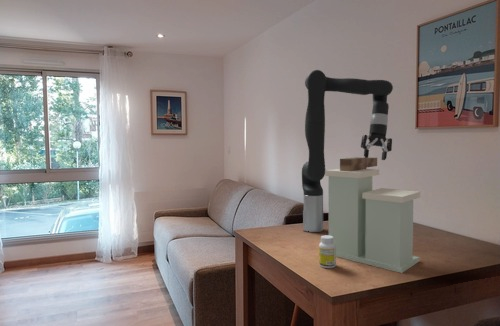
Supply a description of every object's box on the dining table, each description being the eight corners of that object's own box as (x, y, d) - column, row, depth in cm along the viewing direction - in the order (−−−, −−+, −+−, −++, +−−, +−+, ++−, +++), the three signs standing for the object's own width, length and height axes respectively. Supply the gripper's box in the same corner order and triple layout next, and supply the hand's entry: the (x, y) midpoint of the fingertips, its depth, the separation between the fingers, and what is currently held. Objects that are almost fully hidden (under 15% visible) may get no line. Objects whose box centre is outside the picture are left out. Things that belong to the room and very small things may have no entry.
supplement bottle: (323, 261, 129) (323, 233, 128) (338, 265, 125) (338, 236, 124) (316, 266, 124) (316, 237, 124) (331, 269, 121) (331, 239, 120)
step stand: (401, 273, 117) (403, 175, 115) (325, 253, 137) (325, 170, 135) (419, 261, 127) (420, 171, 125) (346, 245, 148) (346, 167, 146)
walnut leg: (350, 171, 130) (350, 159, 130) (339, 170, 133) (339, 158, 133) (378, 167, 146) (378, 156, 145) (368, 166, 149) (368, 156, 149)
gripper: (368, 121, 163) (364, 157, 162) (397, 125, 165) (393, 160, 165) (360, 123, 170) (356, 157, 170) (388, 127, 172) (384, 160, 172)
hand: (374, 158), depth 167 cm, fingers open, 8 cm apart
